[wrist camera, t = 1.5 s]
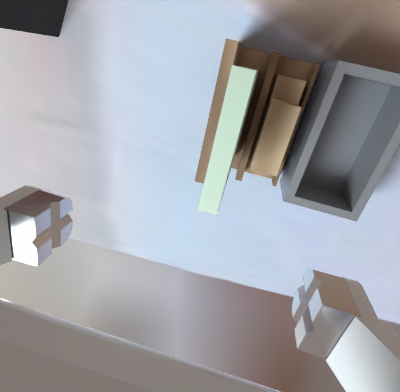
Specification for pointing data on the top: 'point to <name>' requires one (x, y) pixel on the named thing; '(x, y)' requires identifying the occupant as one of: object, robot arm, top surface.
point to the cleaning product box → (33, 15)
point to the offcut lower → (284, 93)
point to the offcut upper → (274, 136)
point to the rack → (252, 102)
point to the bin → (344, 139)
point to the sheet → (227, 136)
